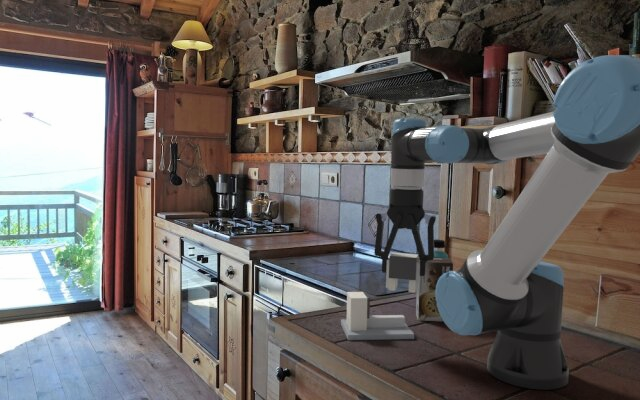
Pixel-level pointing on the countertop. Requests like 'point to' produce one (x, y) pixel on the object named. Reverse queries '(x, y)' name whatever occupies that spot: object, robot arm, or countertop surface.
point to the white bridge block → (402, 270)
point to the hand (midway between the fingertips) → (402, 287)
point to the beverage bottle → (439, 245)
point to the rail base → (377, 333)
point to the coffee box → (431, 289)
